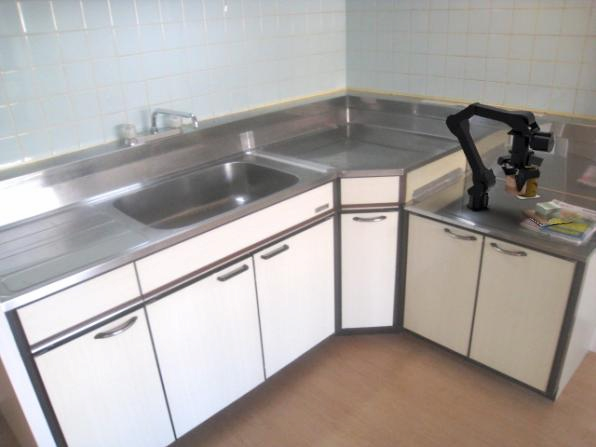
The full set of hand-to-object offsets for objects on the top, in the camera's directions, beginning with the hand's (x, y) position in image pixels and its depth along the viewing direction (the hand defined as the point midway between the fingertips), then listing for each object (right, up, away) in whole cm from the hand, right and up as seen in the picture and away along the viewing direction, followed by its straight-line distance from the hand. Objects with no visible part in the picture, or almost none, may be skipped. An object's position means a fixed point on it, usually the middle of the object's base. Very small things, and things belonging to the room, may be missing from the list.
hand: (515, 189), depth 183 cm
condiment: (+14, -1, +22) cm, 26 cm away
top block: (0, -1, +1) cm, 1 cm away
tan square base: (+12, -11, +1) cm, 16 cm away
